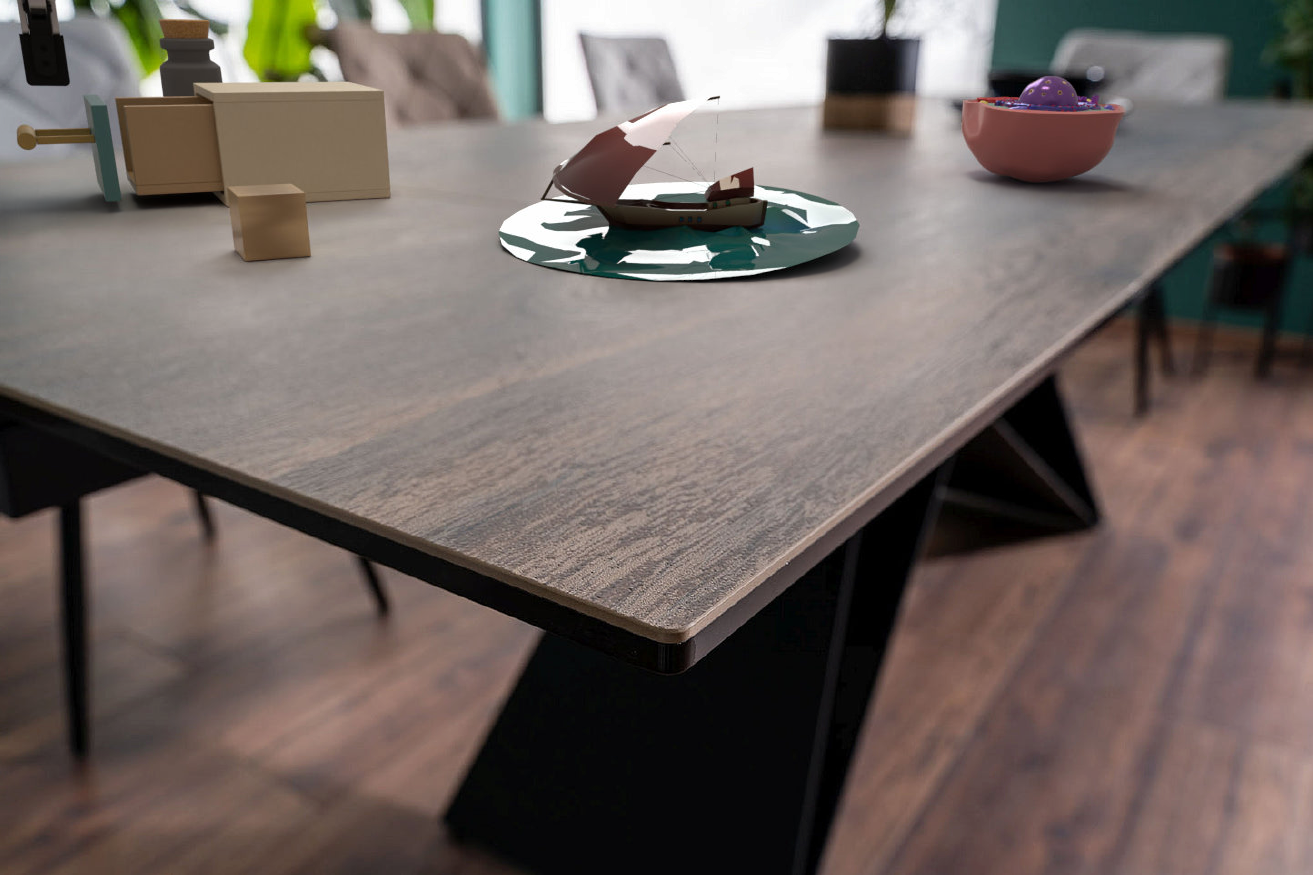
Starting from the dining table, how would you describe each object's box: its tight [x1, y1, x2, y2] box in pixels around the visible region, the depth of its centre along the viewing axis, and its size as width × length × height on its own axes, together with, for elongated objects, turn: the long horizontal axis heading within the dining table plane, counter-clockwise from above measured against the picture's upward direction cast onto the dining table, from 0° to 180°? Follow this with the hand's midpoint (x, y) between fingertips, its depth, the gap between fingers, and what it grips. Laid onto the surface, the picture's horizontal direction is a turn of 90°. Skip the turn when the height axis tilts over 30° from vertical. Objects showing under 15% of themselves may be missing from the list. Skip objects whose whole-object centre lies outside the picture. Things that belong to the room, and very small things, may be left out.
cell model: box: [960, 75, 1127, 184], centre depth 121 cm, size 17×20×11 cm
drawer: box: [16, 94, 224, 202], centre depth 96 cm, size 19×11×8 cm, turn 119°
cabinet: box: [193, 81, 392, 208], centre depth 101 cm, size 15×13×10 cm
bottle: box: [158, 18, 224, 97], centre depth 111 cm, size 6×6×15 cm
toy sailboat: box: [498, 95, 860, 281], centre depth 83 cm, size 28×28×11 cm
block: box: [227, 184, 312, 262], centre depth 77 cm, size 4×4×4 cm
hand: (48, 84), depth 91 cm, fingers closed
